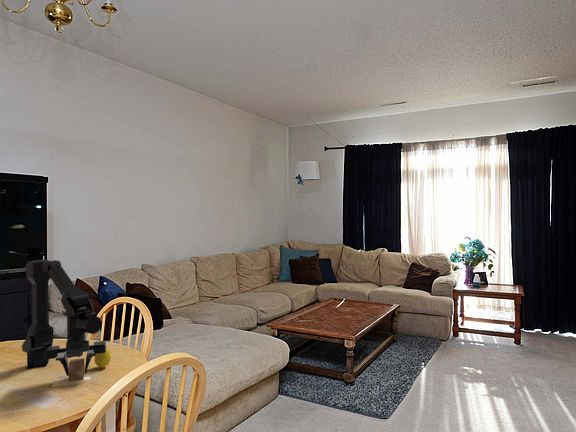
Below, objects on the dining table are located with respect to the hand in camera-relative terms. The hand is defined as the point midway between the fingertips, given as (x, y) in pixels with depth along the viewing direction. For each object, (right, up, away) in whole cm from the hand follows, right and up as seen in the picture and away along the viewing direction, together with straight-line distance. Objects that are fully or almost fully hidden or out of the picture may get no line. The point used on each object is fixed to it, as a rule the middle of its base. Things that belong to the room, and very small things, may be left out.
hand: (76, 374), depth 148 cm
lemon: (+5, -2, +10) cm, 11 cm away
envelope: (0, -2, 0) cm, 2 cm away
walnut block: (0, -1, 0) cm, 1 cm away
